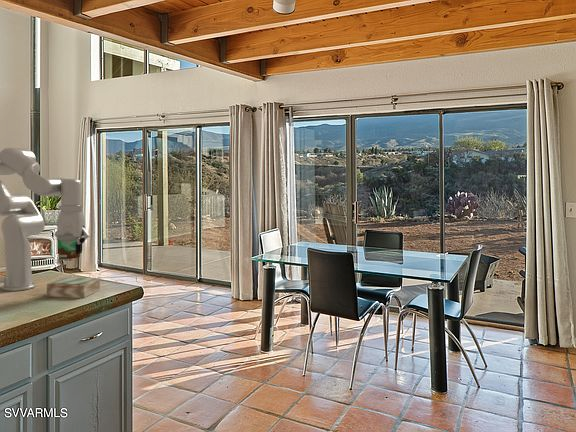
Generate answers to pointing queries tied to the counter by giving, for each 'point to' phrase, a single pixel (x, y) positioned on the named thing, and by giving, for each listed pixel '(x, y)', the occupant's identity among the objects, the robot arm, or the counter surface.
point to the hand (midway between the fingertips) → (72, 252)
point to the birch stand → (73, 287)
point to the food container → (67, 246)
